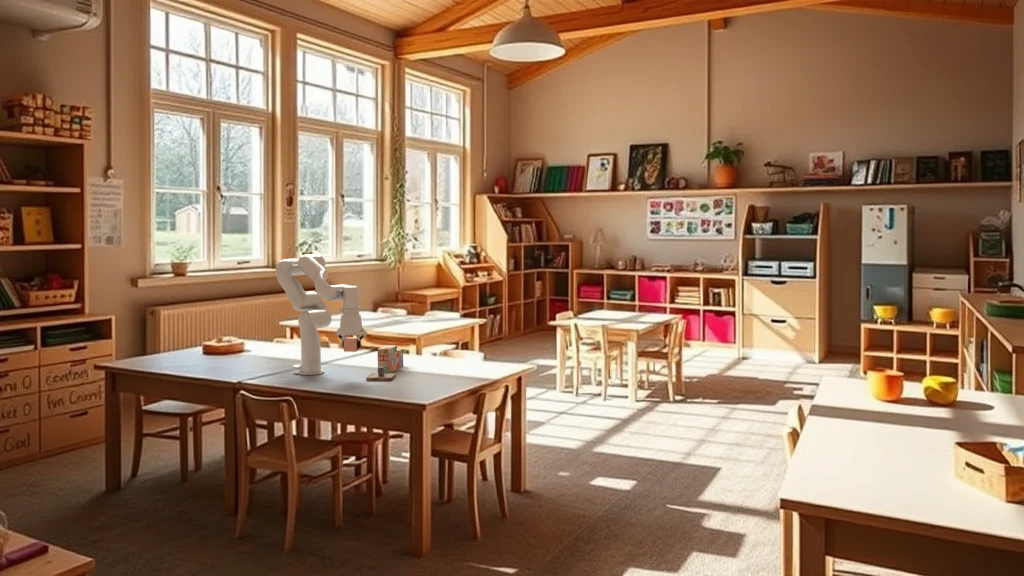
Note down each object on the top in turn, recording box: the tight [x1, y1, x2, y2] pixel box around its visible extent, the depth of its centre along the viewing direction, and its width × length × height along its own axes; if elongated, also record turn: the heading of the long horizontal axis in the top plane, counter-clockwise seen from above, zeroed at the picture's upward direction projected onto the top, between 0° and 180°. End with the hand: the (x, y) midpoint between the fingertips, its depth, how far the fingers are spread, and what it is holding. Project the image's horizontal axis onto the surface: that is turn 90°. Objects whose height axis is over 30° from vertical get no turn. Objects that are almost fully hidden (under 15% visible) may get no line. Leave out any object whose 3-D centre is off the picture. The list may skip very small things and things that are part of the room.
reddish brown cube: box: [343, 336, 360, 353], centre depth 396 cm, size 6×6×6 cm
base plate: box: [365, 366, 397, 382], centre depth 397 cm, size 12×12×6 cm
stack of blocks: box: [377, 344, 404, 373], centre depth 423 cm, size 21×6×12 cm, turn 168°
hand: (351, 348), depth 396 cm, fingers closed on reddish brown cube, 6 cm apart
